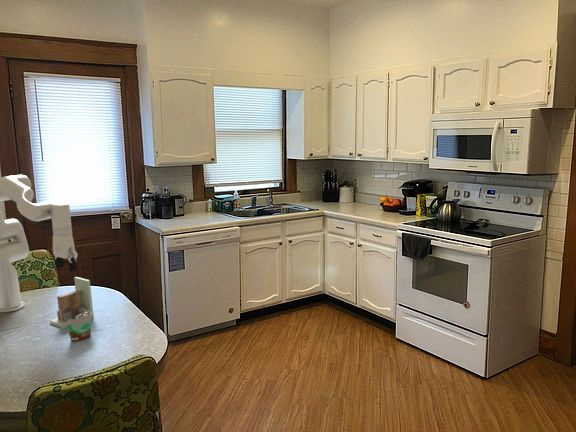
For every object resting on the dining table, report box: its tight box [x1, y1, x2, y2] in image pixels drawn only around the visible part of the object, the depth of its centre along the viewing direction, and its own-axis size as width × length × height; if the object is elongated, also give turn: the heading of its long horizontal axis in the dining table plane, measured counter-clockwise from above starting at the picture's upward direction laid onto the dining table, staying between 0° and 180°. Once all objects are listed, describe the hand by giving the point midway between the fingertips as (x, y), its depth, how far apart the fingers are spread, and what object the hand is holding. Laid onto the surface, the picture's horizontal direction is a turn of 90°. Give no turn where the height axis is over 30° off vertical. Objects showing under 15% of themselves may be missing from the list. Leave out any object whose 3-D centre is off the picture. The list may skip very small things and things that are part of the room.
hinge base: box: [49, 276, 95, 329], centre depth 222 cm, size 15×10×18 cm, turn 146°
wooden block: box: [56, 289, 83, 321], centre depth 222 cm, size 10×3×11 cm, turn 145°
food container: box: [67, 309, 93, 343], centre depth 204 cm, size 12×6×10 cm, turn 168°
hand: (66, 269), depth 219 cm, fingers open, 9 cm apart
